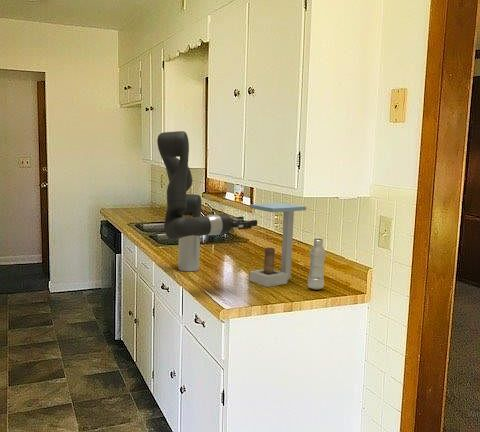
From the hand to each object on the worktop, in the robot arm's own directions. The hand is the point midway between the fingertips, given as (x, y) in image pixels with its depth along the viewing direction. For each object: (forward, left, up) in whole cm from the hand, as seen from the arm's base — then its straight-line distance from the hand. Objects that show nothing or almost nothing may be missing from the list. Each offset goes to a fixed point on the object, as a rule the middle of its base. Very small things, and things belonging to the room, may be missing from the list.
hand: (249, 220), depth 205 cm
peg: (-5, +10, -26) cm, 28 cm away
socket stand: (-6, +13, -26) cm, 30 cm away
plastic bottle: (+7, +26, -26) cm, 38 cm away
